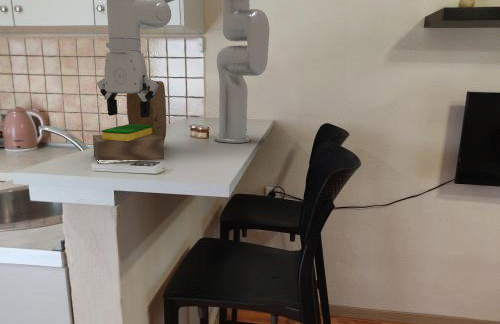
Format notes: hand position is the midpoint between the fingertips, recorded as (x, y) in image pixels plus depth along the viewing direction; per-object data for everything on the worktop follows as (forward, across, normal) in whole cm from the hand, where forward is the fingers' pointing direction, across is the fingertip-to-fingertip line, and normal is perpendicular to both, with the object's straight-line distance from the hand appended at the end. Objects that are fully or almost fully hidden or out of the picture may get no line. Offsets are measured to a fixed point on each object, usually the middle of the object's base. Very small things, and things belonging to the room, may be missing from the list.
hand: (128, 116), depth 99 cm
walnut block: (+11, 0, -1) cm, 11 cm away
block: (+11, -4, +14) cm, 19 cm away
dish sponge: (+6, 0, 0) cm, 6 cm away
